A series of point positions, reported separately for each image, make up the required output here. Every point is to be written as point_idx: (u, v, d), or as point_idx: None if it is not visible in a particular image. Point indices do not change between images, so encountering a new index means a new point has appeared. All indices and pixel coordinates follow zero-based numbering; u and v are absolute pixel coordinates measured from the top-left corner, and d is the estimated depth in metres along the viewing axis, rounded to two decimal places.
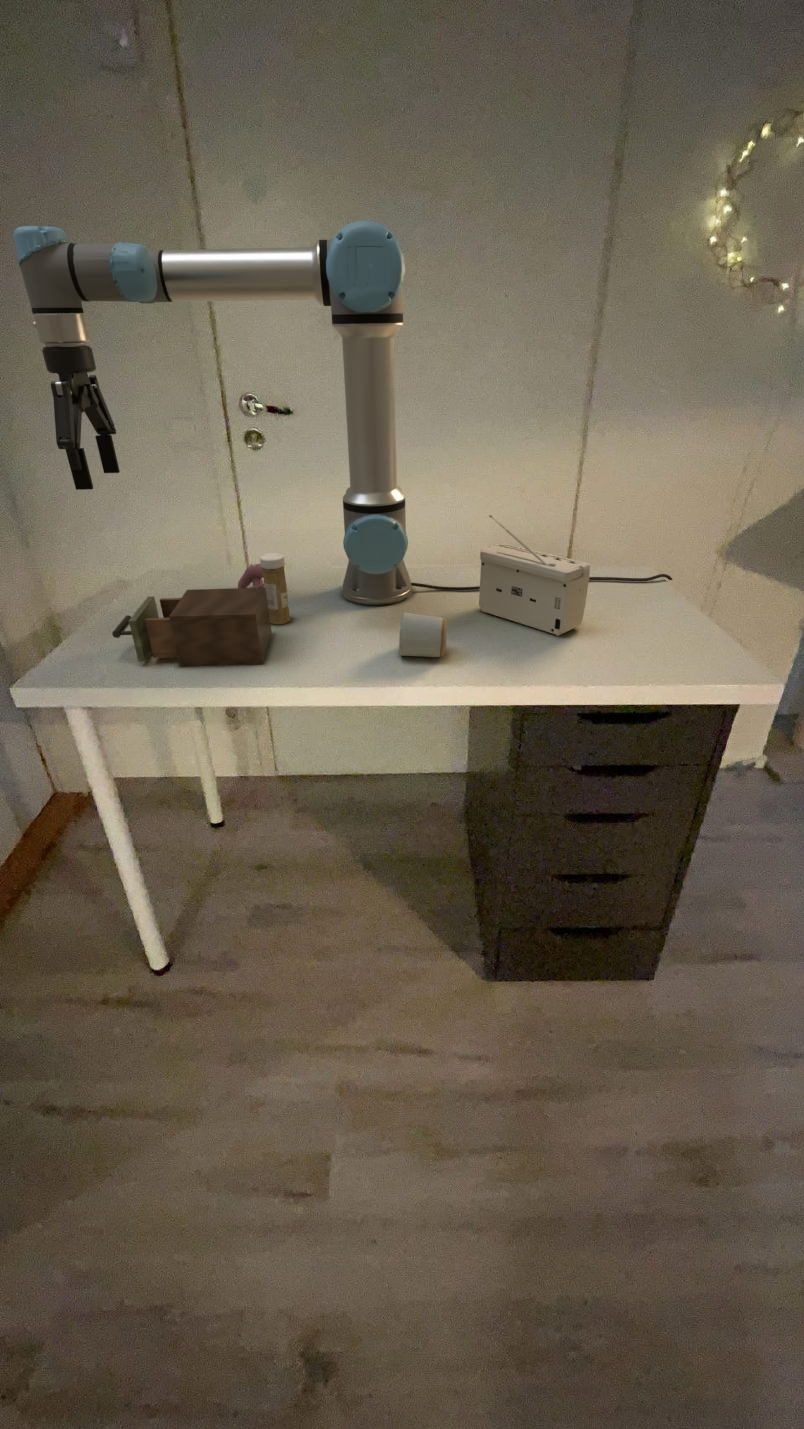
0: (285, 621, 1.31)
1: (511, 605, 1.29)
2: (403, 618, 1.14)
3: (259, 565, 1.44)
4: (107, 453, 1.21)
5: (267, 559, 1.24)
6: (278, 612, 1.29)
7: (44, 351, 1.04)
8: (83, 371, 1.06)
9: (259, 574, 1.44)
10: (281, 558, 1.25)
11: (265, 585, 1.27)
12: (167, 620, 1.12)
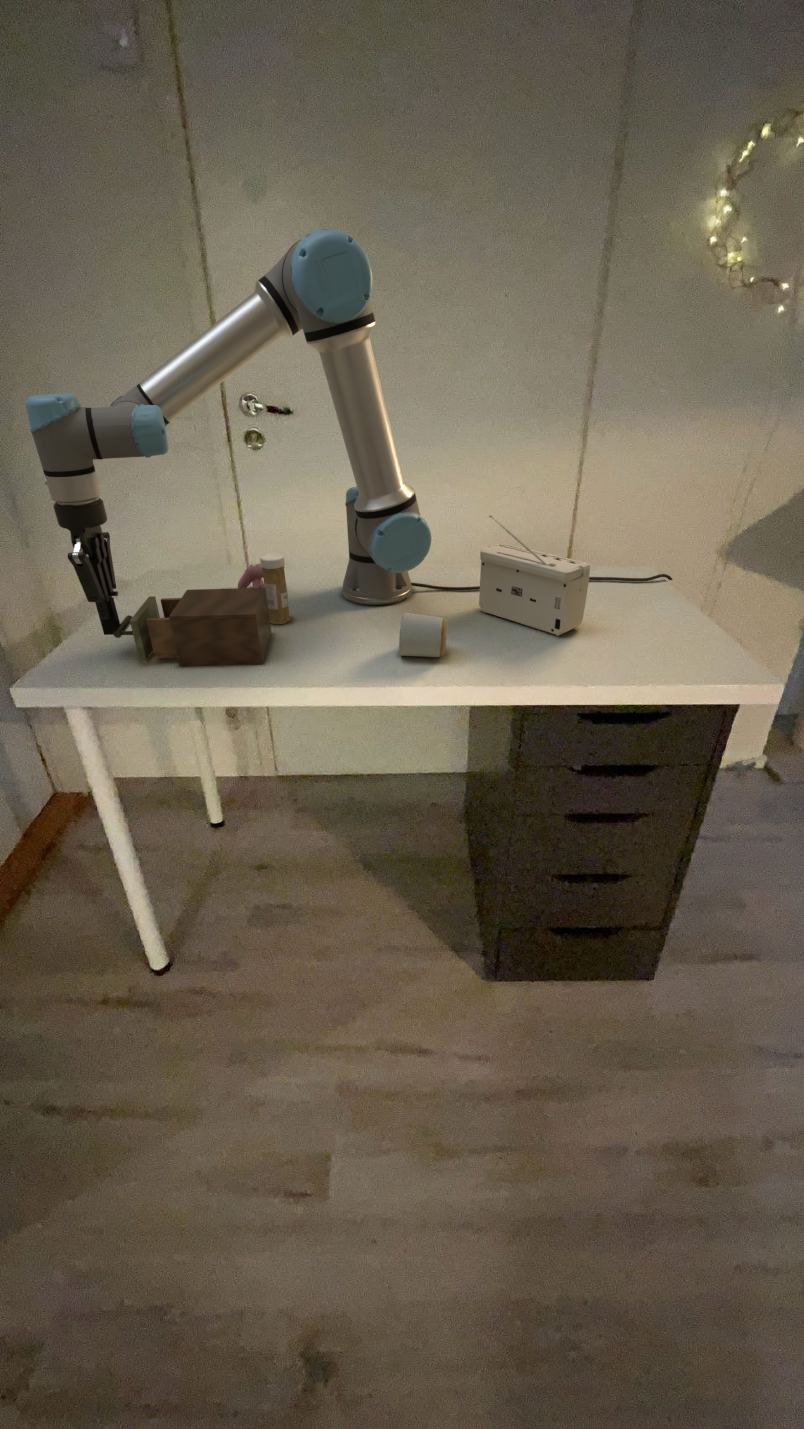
0: (285, 621, 1.31)
1: (511, 605, 1.29)
2: (403, 618, 1.14)
3: (259, 565, 1.44)
4: None
5: (267, 559, 1.24)
6: (278, 612, 1.29)
7: (56, 509, 1.04)
8: (94, 526, 1.06)
9: (259, 574, 1.44)
10: (281, 558, 1.25)
11: (265, 585, 1.27)
12: (168, 620, 1.12)
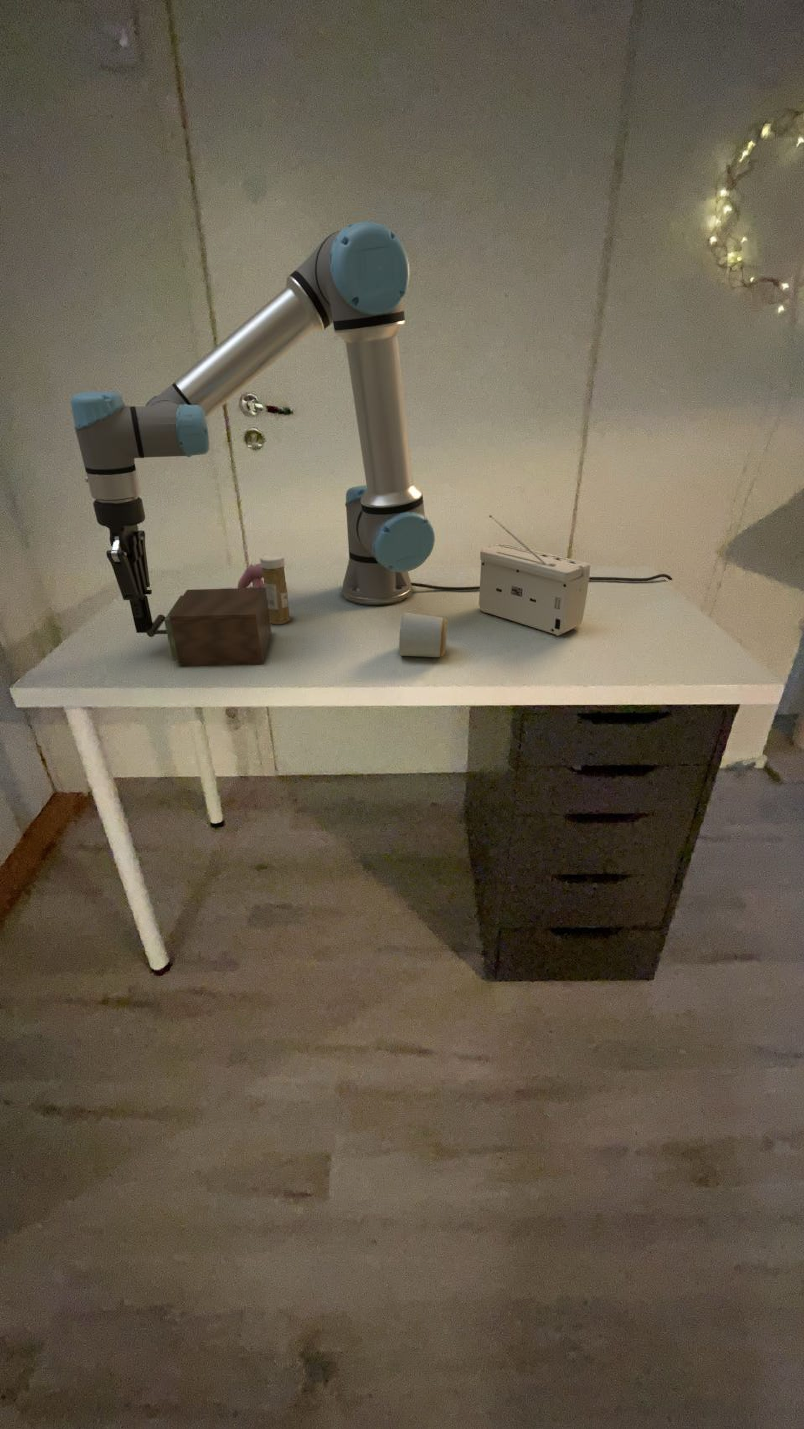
0: (285, 621, 1.31)
1: (511, 605, 1.29)
2: (403, 618, 1.14)
3: (259, 565, 1.44)
4: None
5: (267, 559, 1.24)
6: (278, 612, 1.29)
7: (96, 506, 1.04)
8: (133, 524, 1.06)
9: (259, 574, 1.44)
10: (281, 558, 1.25)
11: (265, 585, 1.27)
12: None
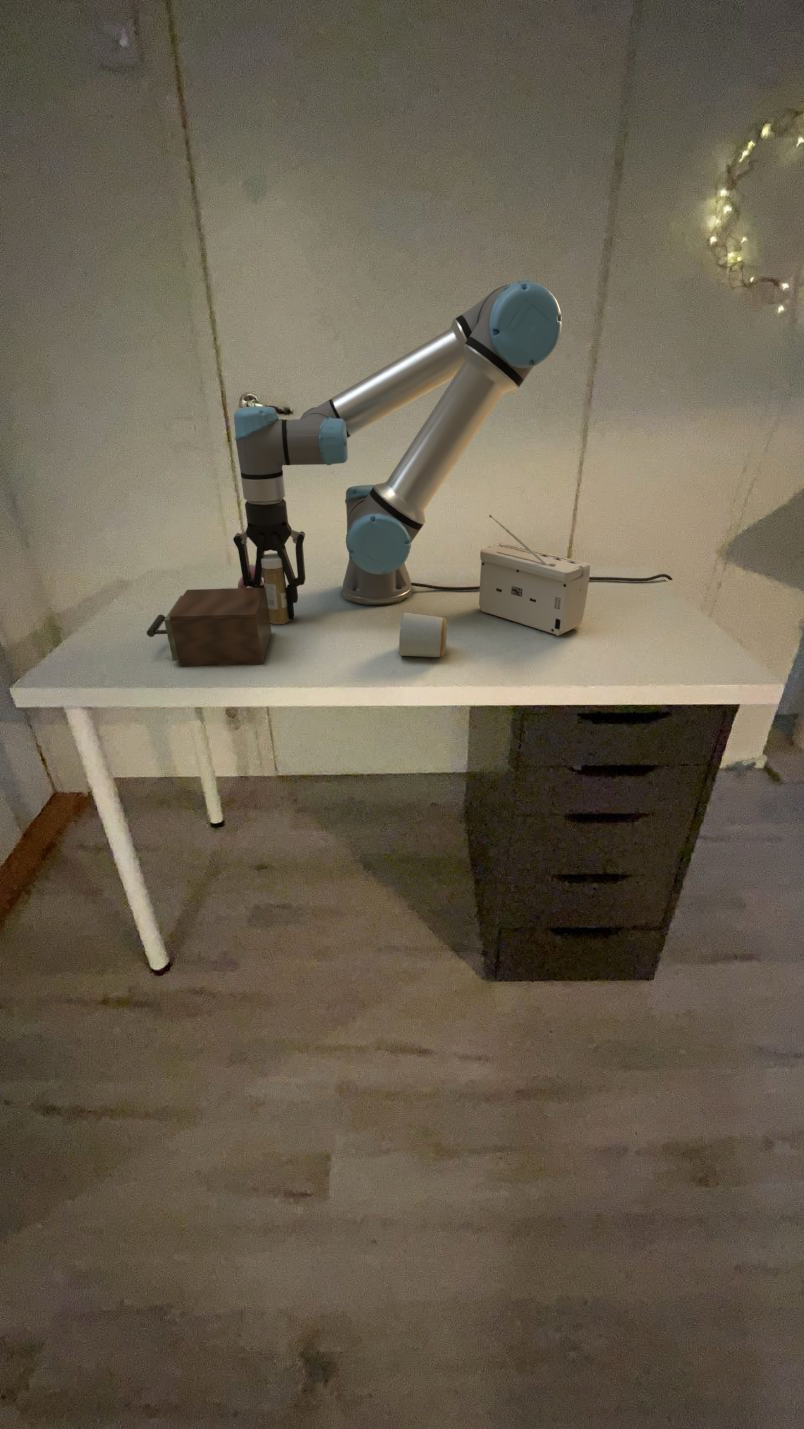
0: (285, 621, 1.31)
1: (511, 605, 1.29)
2: (403, 618, 1.14)
3: None
4: None
5: (267, 559, 1.24)
6: (278, 612, 1.29)
7: None
8: (253, 524, 1.19)
9: None
10: None
11: (265, 585, 1.27)
12: None
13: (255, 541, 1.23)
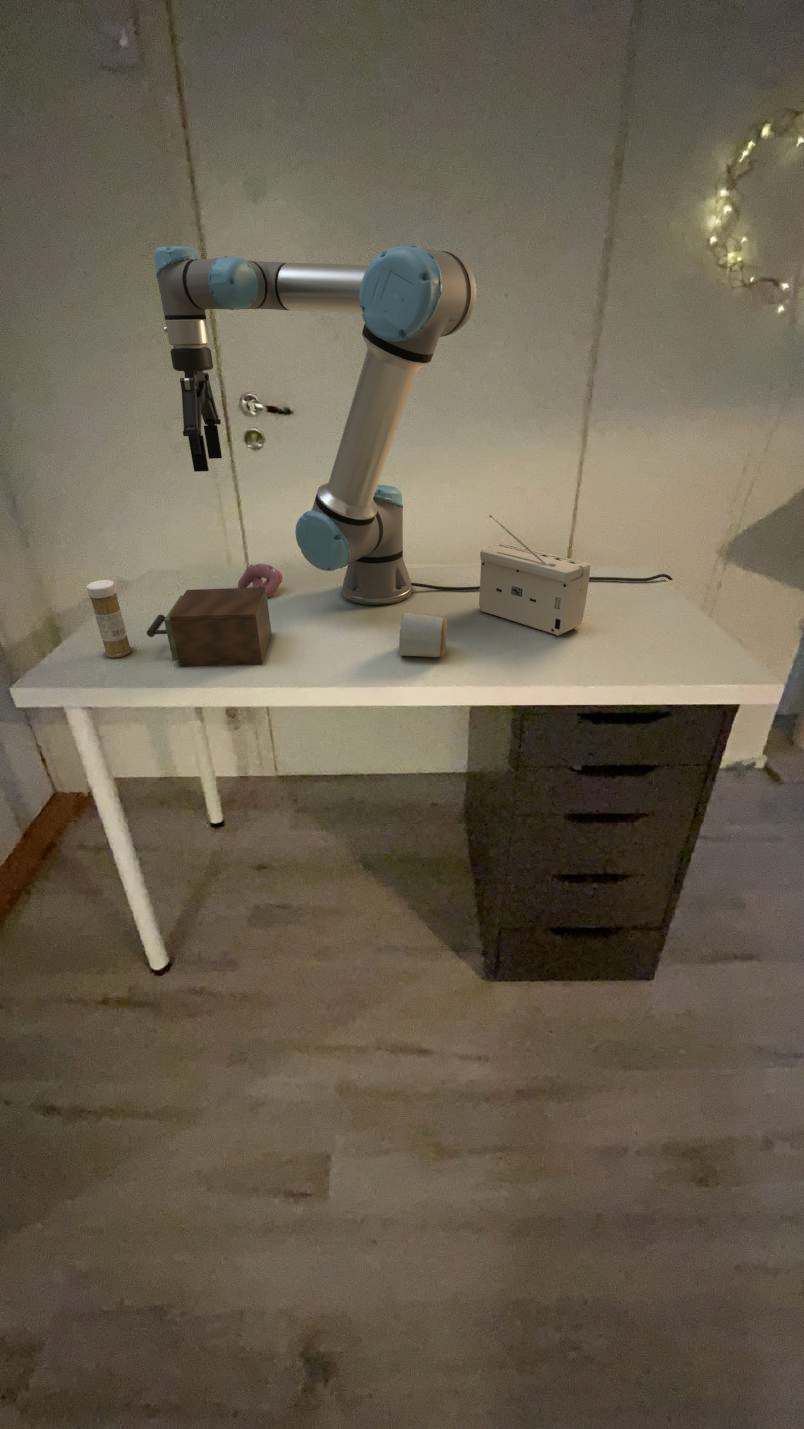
0: None
1: (511, 605, 1.29)
2: (403, 618, 1.14)
3: (259, 565, 1.44)
4: (213, 441, 1.39)
5: (108, 584, 1.13)
6: (127, 638, 1.19)
7: (173, 352, 1.22)
8: (204, 369, 1.24)
9: (259, 574, 1.44)
10: None
11: (112, 616, 1.15)
12: None
13: (199, 390, 1.26)
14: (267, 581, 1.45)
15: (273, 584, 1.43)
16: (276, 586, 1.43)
